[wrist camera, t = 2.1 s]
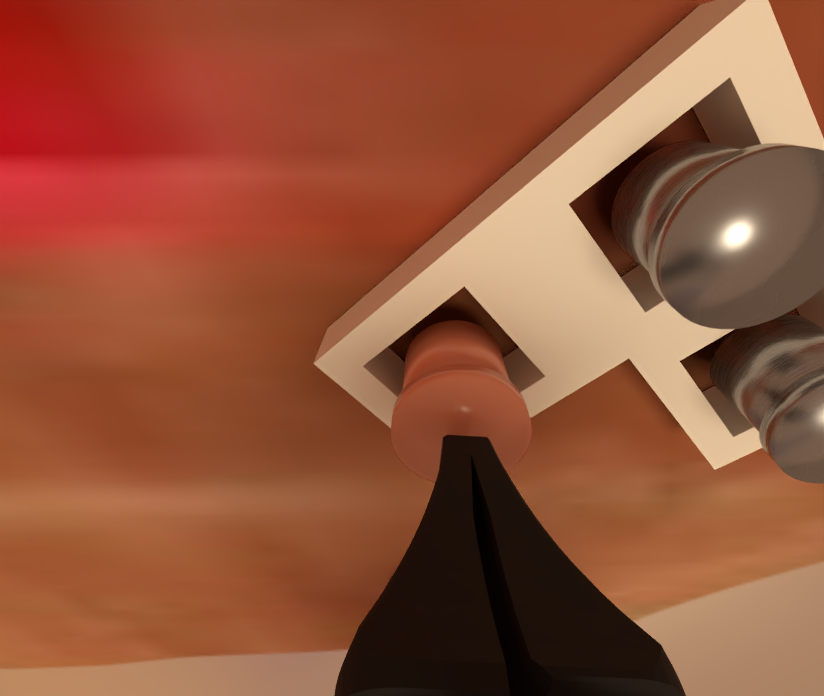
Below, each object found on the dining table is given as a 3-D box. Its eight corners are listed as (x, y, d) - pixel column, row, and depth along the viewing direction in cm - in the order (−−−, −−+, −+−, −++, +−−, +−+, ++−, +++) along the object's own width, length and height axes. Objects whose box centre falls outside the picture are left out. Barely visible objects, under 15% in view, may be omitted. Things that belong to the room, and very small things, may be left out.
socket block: (853, 336, 20) (917, 374, 17) (527, 506, 26) (538, 552, 23) (699, 5, 14) (762, -14, 11) (327, 327, 20) (313, 363, 18)
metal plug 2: (843, 362, 18) (957, 438, 14) (729, 420, 19) (802, 502, 16) (804, 282, 16) (921, 343, 12) (682, 353, 18) (752, 426, 14)
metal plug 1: (769, 211, 15) (888, 255, 11) (642, 295, 16) (707, 358, 13) (711, 94, 13) (829, 97, 9) (576, 200, 15) (628, 240, 11)
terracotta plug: (531, 367, 18) (559, 441, 14) (446, 423, 20) (451, 503, 16) (461, 290, 16) (472, 351, 13) (374, 358, 18) (361, 430, 14)
